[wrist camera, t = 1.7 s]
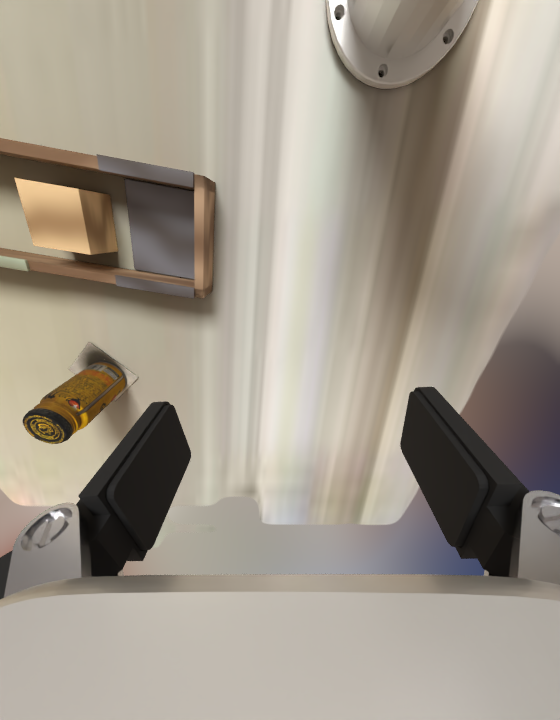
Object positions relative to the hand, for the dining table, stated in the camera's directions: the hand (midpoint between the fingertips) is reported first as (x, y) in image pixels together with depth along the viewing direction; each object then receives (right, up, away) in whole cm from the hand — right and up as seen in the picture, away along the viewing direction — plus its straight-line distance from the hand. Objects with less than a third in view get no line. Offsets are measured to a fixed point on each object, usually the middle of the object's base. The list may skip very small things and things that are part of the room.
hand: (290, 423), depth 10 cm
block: (-23, +19, +20) cm, 36 cm away
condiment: (-29, +1, +30) cm, 42 cm away
